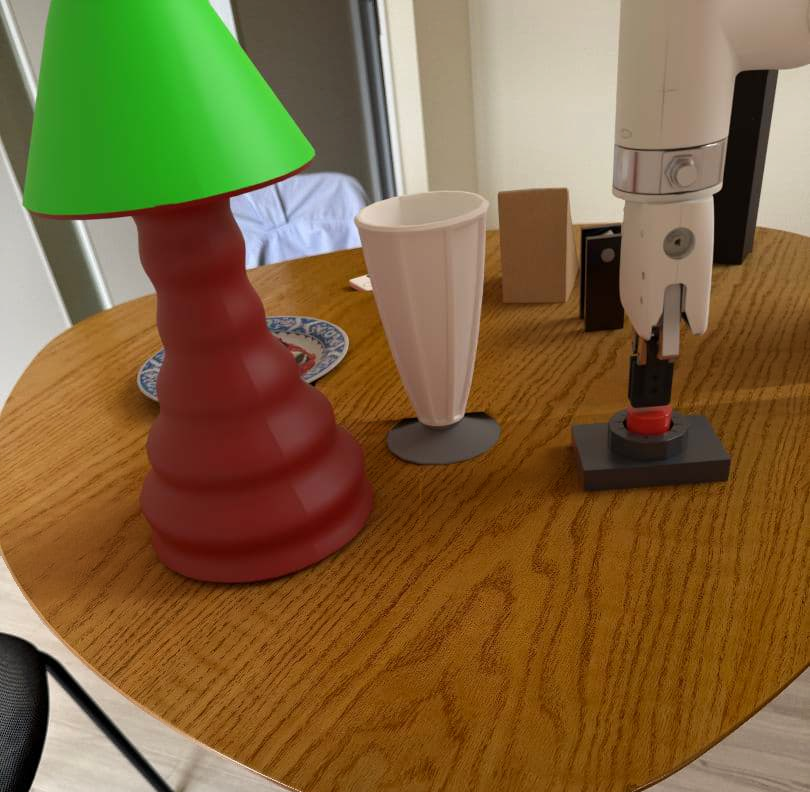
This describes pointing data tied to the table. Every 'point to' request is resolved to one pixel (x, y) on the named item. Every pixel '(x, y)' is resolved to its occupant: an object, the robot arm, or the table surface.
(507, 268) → the sandwich container
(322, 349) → the ceramic plate
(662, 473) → the control block
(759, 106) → the tall black pillar
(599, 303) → the bracket
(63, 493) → the table surface
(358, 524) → the table lamp
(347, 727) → the table surface
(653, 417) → the button
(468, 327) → the cup
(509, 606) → the table surface
